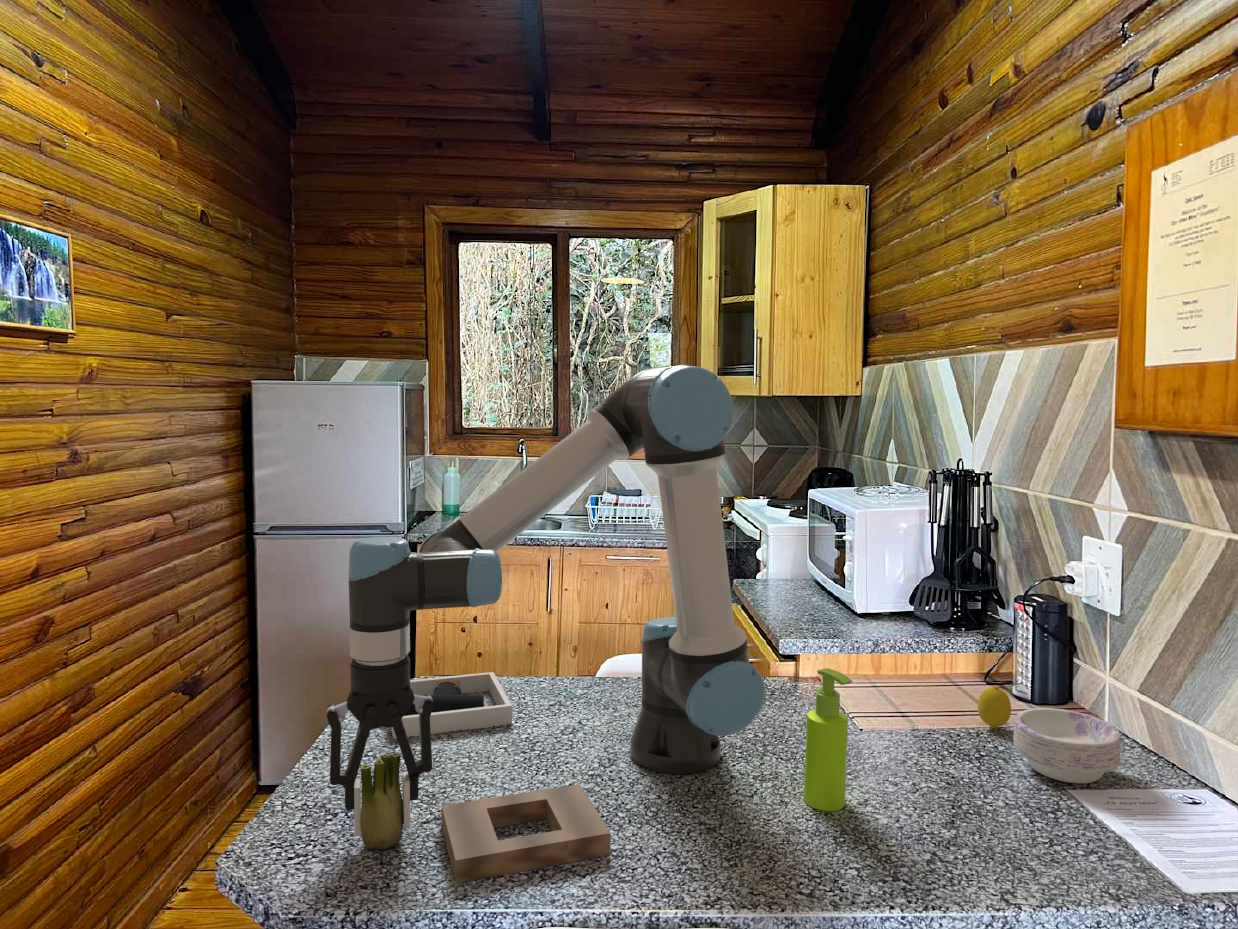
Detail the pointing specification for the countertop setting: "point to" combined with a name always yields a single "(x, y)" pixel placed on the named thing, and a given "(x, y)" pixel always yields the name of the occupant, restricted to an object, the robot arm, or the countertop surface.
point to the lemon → (994, 707)
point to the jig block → (486, 856)
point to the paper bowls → (1067, 744)
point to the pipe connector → (450, 698)
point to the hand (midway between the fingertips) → (382, 826)
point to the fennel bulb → (381, 803)
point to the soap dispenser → (826, 747)
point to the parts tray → (463, 717)
